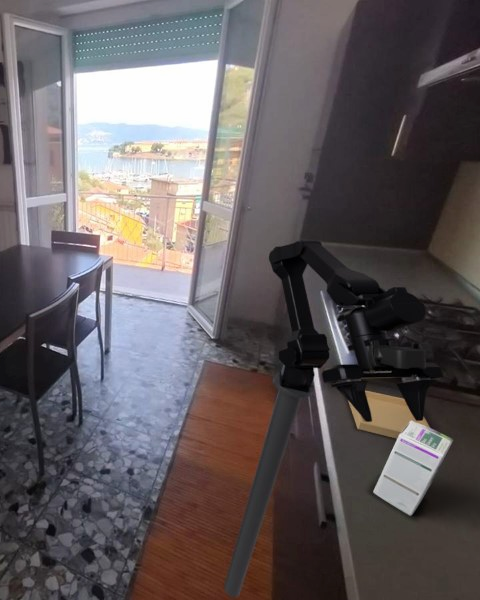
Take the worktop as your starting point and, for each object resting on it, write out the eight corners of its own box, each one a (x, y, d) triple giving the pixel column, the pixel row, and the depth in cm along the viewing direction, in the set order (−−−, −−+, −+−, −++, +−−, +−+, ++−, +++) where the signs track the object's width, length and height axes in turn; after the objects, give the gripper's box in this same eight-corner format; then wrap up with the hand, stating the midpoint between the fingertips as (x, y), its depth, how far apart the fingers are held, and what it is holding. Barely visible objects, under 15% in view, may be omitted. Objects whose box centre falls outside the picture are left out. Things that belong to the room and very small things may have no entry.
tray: (357, 429, 79) (360, 422, 78) (345, 393, 90) (347, 386, 89) (434, 448, 74) (438, 441, 73) (411, 407, 85) (414, 400, 84)
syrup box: (411, 517, 61) (447, 456, 54) (370, 492, 65) (399, 433, 59) (421, 499, 64) (456, 439, 57) (381, 476, 68) (410, 418, 62)
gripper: (350, 327, 62) (378, 421, 57) (456, 325, 62) (494, 419, 57) (311, 342, 73) (331, 422, 67) (402, 340, 73) (429, 420, 67)
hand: (394, 421), depth 64 cm, fingers open, 9 cm apart
